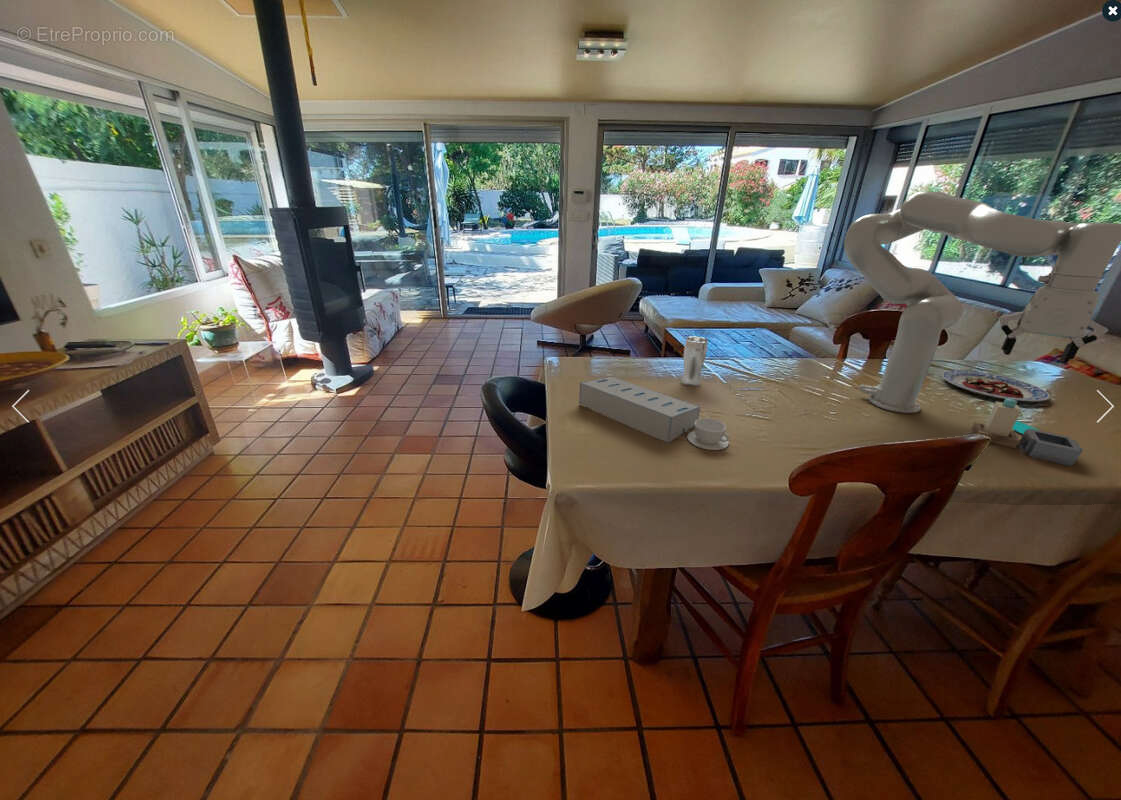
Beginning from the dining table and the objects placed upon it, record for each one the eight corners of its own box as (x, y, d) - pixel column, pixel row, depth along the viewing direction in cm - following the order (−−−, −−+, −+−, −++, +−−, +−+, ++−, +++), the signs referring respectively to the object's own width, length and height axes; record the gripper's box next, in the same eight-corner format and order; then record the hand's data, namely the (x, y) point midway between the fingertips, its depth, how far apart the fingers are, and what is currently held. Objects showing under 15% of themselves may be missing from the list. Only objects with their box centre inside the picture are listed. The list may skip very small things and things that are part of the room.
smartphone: (1052, 447, 104) (990, 419, 117) (1050, 450, 104) (988, 422, 118) (1078, 446, 104) (1013, 418, 118) (1076, 449, 105) (1012, 421, 118)
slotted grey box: (696, 425, 113) (701, 400, 110) (668, 444, 104) (671, 417, 101) (610, 393, 133) (611, 370, 130) (579, 406, 123) (579, 382, 120)
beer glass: (703, 381, 141) (711, 338, 135) (697, 388, 136) (705, 343, 130) (683, 377, 145) (689, 335, 138) (676, 383, 139) (683, 340, 133)
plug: (983, 438, 108) (1001, 400, 104) (980, 432, 111) (998, 395, 107) (1004, 443, 106) (1024, 405, 102) (1001, 436, 109) (1020, 399, 105)
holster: (975, 438, 108) (978, 431, 107) (971, 427, 114) (974, 421, 113) (1015, 448, 104) (1019, 440, 103) (1009, 436, 110) (1013, 429, 109)
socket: (1024, 455, 101) (1032, 440, 99) (1016, 441, 107) (1024, 427, 106) (1076, 467, 96) (1085, 452, 95) (1065, 451, 103) (1073, 437, 101)
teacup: (679, 440, 105) (681, 424, 104) (699, 427, 112) (701, 412, 110) (716, 456, 99) (720, 439, 97) (735, 441, 105) (739, 425, 104)
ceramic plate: (1067, 413, 124) (1072, 403, 122) (958, 398, 132) (962, 389, 131) (1019, 382, 145) (1023, 374, 144) (928, 371, 154) (931, 364, 153)
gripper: (1020, 281, 94) (987, 354, 101) (1138, 290, 85) (1093, 369, 92) (1013, 277, 100) (982, 347, 107) (1123, 285, 91) (1082, 360, 98)
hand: (1033, 357), depth 100 cm, fingers open, 9 cm apart
